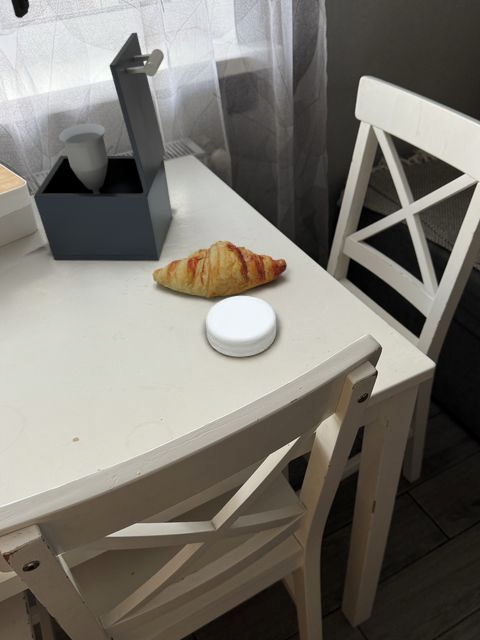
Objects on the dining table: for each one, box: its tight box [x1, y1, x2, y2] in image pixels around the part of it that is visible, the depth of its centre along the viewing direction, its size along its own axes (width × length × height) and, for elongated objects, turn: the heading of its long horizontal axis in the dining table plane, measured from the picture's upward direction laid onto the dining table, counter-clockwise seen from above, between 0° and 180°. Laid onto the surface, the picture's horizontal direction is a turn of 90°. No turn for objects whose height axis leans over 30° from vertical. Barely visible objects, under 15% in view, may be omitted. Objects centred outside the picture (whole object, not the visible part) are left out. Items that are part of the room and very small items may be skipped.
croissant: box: [152, 240, 288, 299], centre depth 93 cm, size 21×10×8 cm, turn 95°
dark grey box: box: [33, 155, 173, 262], centre depth 101 cm, size 18×14×12 cm
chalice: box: [58, 123, 108, 194], centre depth 99 cm, size 7×7×18 cm
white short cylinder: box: [205, 295, 277, 358], centre depth 85 cm, size 10×10×4 cm
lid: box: [109, 32, 166, 194], centre depth 90 cm, size 19×14×5 cm
